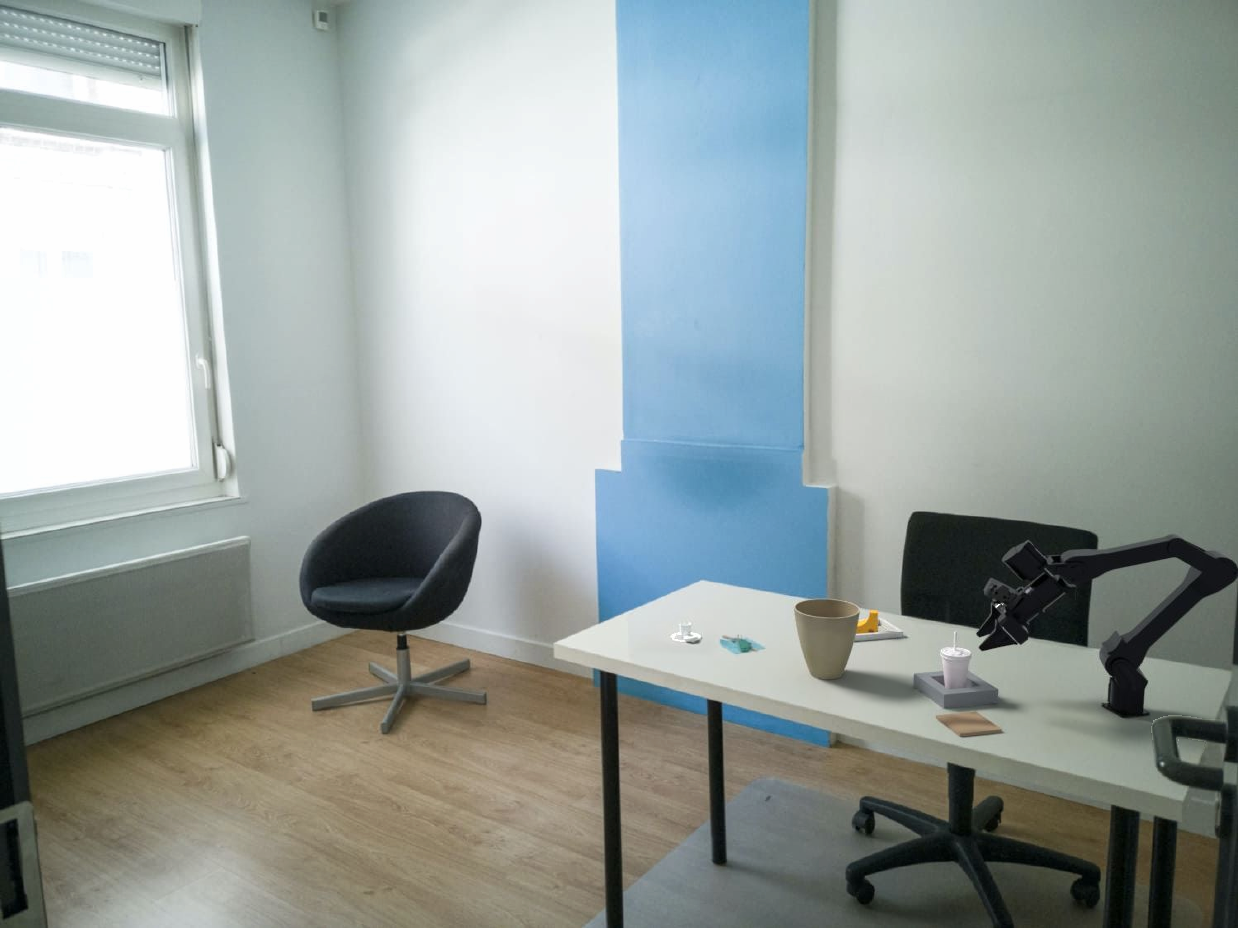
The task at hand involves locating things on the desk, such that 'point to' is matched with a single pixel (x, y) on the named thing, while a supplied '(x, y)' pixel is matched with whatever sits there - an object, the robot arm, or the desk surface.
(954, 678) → the smoothie
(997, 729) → the pad
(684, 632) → the teacup and saucer
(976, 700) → the dock
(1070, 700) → the desk surface
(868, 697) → the desk surface
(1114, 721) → the desk surface
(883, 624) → the tray
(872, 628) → the pipe clamp
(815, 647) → the plant pot
